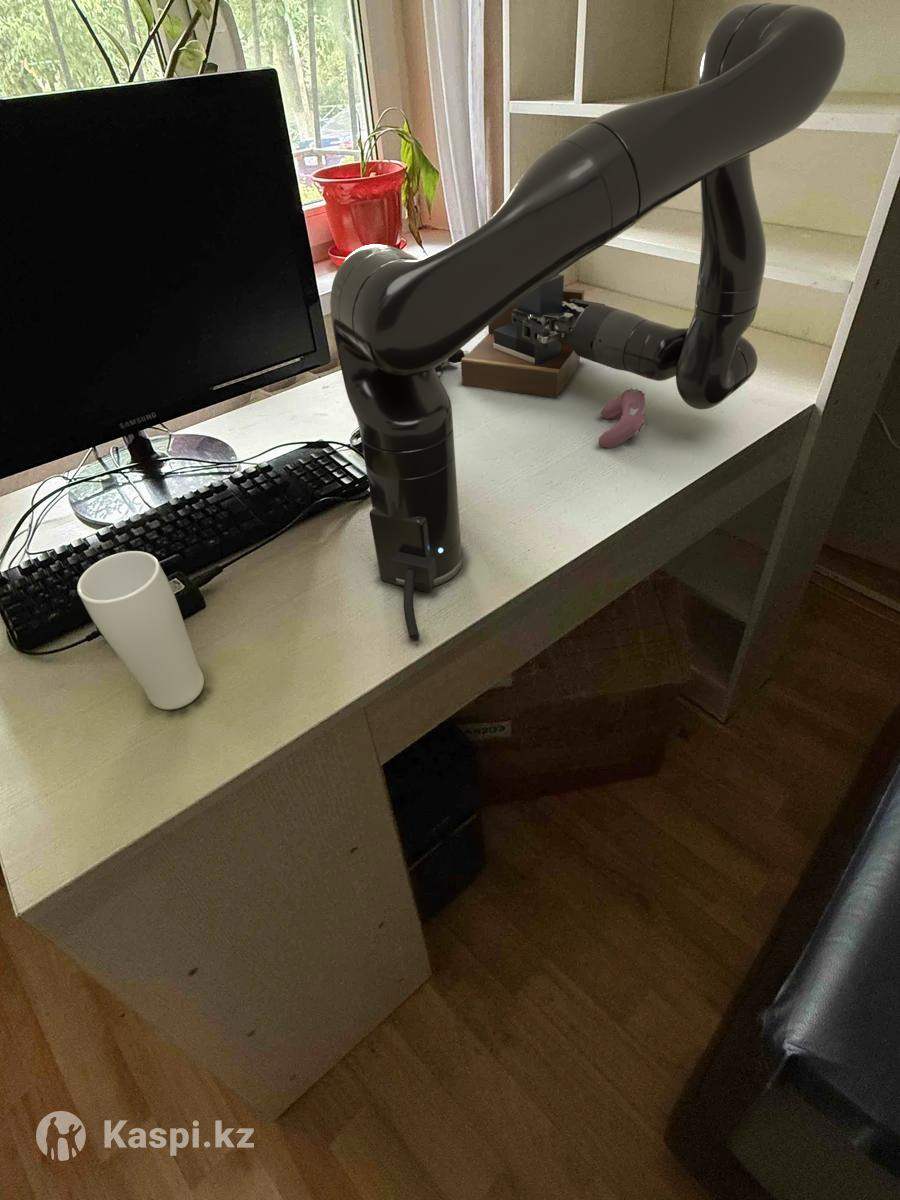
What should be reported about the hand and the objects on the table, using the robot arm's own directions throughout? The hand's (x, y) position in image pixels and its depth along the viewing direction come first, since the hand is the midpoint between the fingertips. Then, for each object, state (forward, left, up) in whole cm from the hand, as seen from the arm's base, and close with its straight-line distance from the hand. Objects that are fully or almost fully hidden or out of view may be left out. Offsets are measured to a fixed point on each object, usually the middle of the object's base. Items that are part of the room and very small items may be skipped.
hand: (526, 310), depth 106 cm
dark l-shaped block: (0, 0, -7) cm, 7 cm away
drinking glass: (-76, +9, -11) cm, 77 cm away
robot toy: (-5, +17, -11) cm, 20 cm away
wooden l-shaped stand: (0, +1, -11) cm, 11 cm away
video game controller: (-14, -19, -11) cm, 26 cm away
